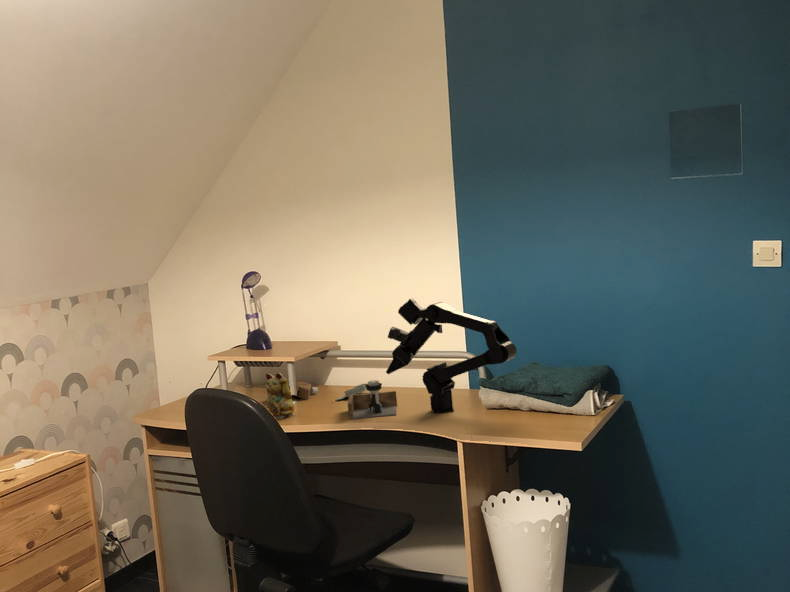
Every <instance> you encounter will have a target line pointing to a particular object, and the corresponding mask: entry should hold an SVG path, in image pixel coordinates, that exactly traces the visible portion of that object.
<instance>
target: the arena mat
mask: <svg viewBox="0 0 790 592" xmlns="http://www.w3.org/2000/svg"><path fill="white" fill-rule="evenodd" d="M391 416H397V406H396V405H393V406H382V412H381V413H375V412H371V411H370V409H368V408H360V409H354V413H353V419H352V420H358V419H367V418H368V419H369V418H379V417H391Z"/></svg>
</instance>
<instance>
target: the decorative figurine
mask: <svg viewBox="0 0 790 592" xmlns="http://www.w3.org/2000/svg"><path fill="white" fill-rule="evenodd" d="M265 378H266V380H267V381H266V382H265V383H266V384H265V390H266V392H267V391H268V392H270V394H269V396H268V395H267V397H266V400H265V401H266V408H267V409H268V411H270V412H271V413H272V414H273V416H274V417H275V418H274V419H281V420H282V419H285V418H289V417H291V416H293V413H294V412H295V404H294V403H293V402H294V401H293V399H292V395H291V392H290V390H289V386H288V382H289V381H288V379H287V378H286V377H285V376H283V374H282V373H281V372H277V373H276V374H275V376H274V375H273V374H271V373H266V374H265Z"/></svg>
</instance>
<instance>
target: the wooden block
mask: <svg viewBox="0 0 790 592" xmlns="http://www.w3.org/2000/svg"><path fill="white" fill-rule="evenodd" d="M289 382H290V381H288V386H289ZM295 382H296V390H297V398H300V399H302V400H306V401H308V400H309V399H310V396H311V394H318V392H319V387H316V386H312V384H311V383H309V382H306V381H296V380H295ZM289 390H290V386H289ZM266 392H267V397H268V396H269V394H270V392H268V391H267V390H266Z"/></svg>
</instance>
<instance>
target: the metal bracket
mask: <svg viewBox="0 0 790 592" xmlns="http://www.w3.org/2000/svg"><path fill="white" fill-rule="evenodd" d="M366 384H367V383H361V384H358V385H356V386H354V387H353V388H351V389H347V390H345V391H344V395H343V396H339V397H338V398H336V399H334V402H336V401H340V400H343V399H345V398H349V395H355V394H361V393H364V392H366V391H368V390H367V389H366V386H365V385H366Z"/></svg>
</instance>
